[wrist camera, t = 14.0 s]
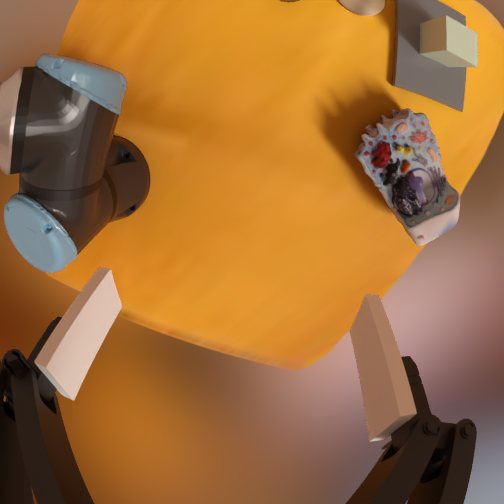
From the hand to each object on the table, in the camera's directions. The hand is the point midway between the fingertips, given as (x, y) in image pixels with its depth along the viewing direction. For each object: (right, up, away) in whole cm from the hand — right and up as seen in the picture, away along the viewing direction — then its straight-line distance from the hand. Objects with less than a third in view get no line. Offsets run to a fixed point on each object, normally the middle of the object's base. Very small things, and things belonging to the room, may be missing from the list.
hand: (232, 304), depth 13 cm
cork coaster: (+17, +41, +10) cm, 46 cm away
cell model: (+25, +17, +25) cm, 39 cm away
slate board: (+30, +36, +12) cm, 48 cm away
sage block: (+30, +35, +11) cm, 47 cm away
